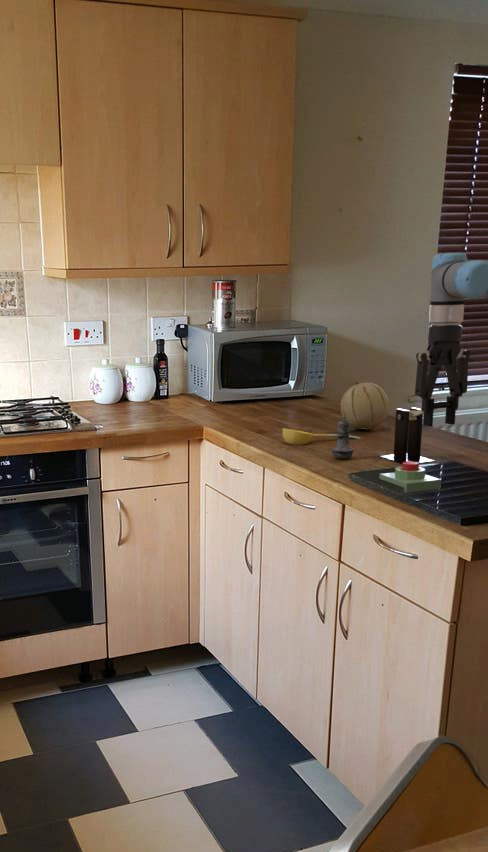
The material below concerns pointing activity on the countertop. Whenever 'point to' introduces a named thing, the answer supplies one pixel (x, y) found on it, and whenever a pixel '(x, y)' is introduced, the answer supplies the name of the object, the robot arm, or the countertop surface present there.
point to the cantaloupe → (365, 405)
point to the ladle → (302, 436)
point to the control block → (411, 480)
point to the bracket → (407, 439)
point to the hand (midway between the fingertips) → (438, 424)
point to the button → (410, 466)
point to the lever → (436, 405)
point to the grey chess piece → (343, 441)
